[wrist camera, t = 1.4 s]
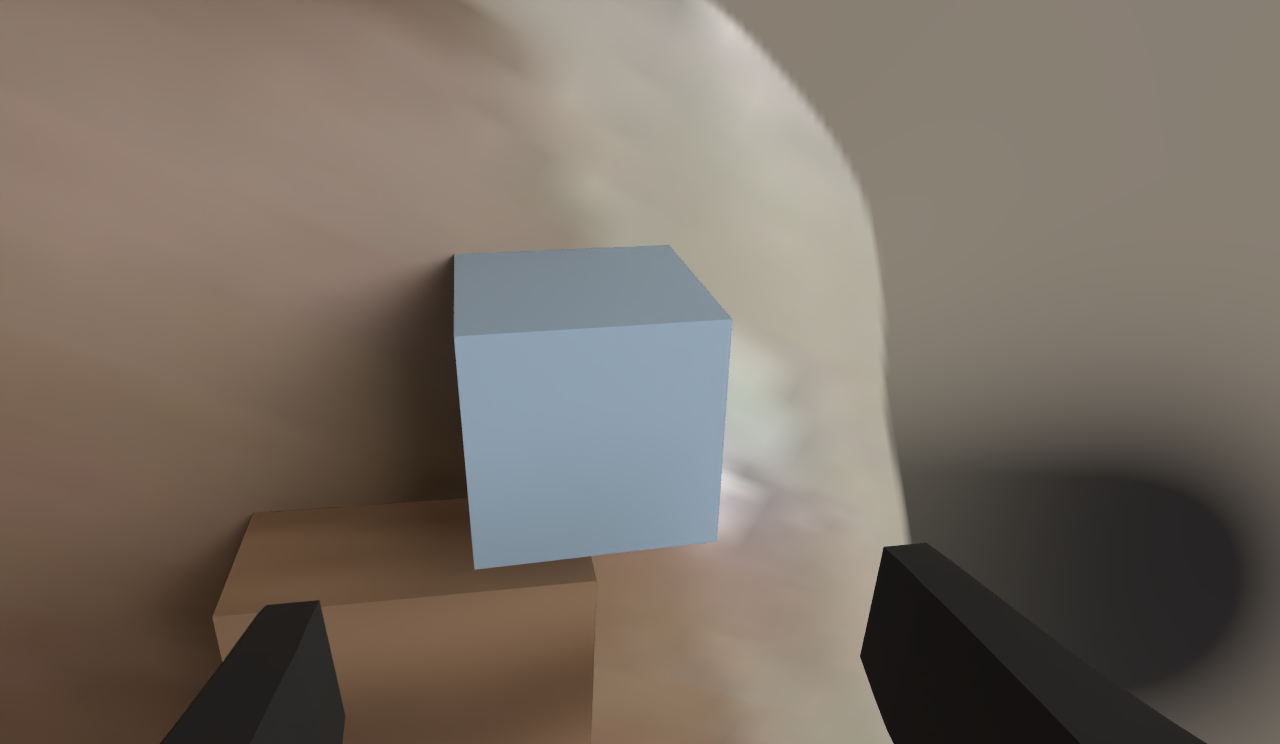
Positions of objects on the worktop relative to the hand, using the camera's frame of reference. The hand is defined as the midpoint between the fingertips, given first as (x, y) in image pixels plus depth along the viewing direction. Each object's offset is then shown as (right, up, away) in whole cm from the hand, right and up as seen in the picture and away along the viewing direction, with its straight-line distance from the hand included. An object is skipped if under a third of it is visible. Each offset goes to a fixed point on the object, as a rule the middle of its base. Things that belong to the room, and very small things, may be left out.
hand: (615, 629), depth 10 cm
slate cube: (-2, +4, +9) cm, 10 cm away
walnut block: (-6, -3, +12) cm, 14 cm away
